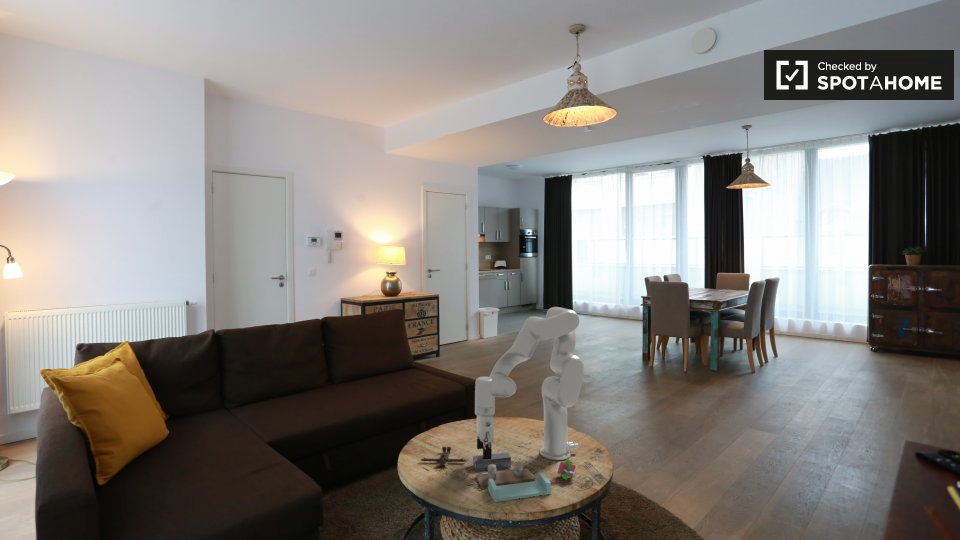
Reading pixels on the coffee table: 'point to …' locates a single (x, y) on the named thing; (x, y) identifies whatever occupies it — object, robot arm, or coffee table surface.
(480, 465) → the steel bar
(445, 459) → the bear figurine
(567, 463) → the geometric puzzle
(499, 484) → the peg stand
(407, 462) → the coffee table surface
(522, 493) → the slot holder
